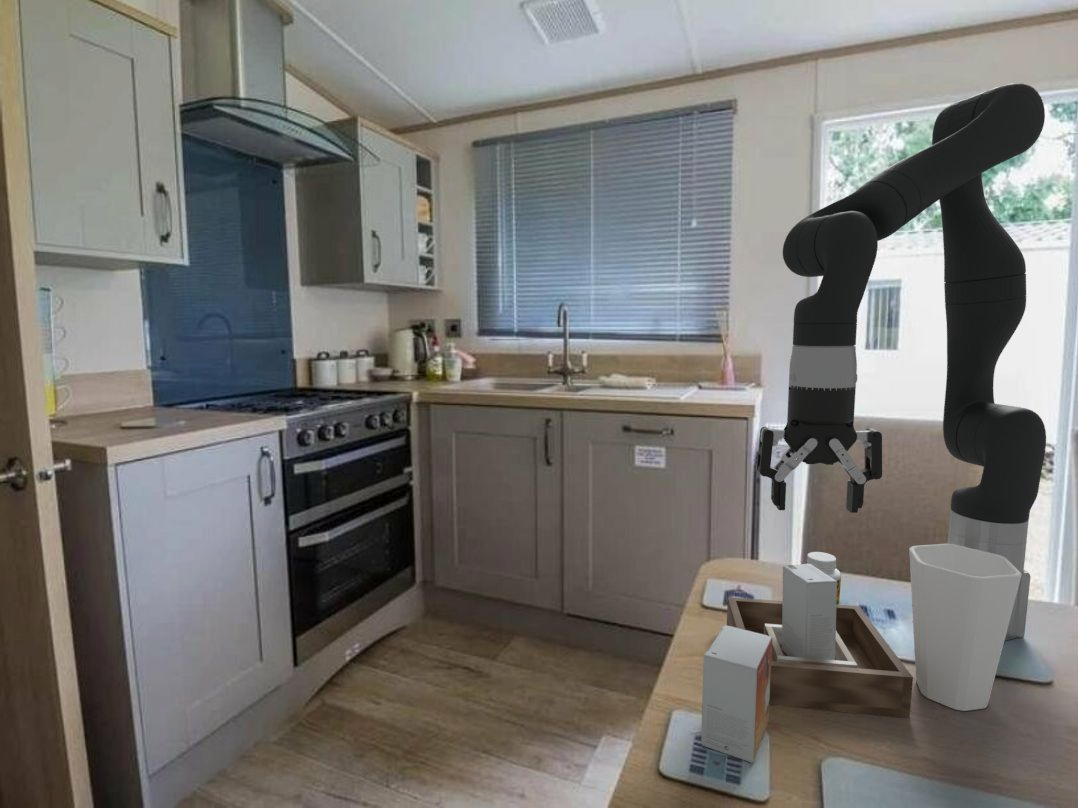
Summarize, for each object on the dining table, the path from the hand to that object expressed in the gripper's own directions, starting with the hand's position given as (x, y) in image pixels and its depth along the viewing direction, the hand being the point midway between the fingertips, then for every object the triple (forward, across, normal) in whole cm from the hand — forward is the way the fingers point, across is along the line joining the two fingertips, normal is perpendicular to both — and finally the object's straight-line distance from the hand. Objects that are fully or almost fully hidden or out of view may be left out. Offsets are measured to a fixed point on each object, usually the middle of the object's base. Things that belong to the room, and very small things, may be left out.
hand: (815, 509), depth 78 cm
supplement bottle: (+22, -5, -14) cm, 26 cm away
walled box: (+22, 0, 0) cm, 22 cm away
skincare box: (+21, 0, 0) cm, 21 cm away
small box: (+22, +11, +15) cm, 29 cm away
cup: (+22, -16, +3) cm, 27 cm away
